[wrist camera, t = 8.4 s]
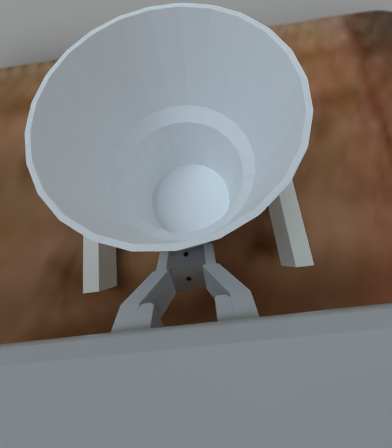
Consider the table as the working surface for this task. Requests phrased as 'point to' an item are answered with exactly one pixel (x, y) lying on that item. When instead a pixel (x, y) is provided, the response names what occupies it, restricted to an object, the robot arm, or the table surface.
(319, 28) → the table surface
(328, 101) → the table surface
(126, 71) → the cup
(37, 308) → the table surface
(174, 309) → the table surface
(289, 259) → the white u-shaped frame
